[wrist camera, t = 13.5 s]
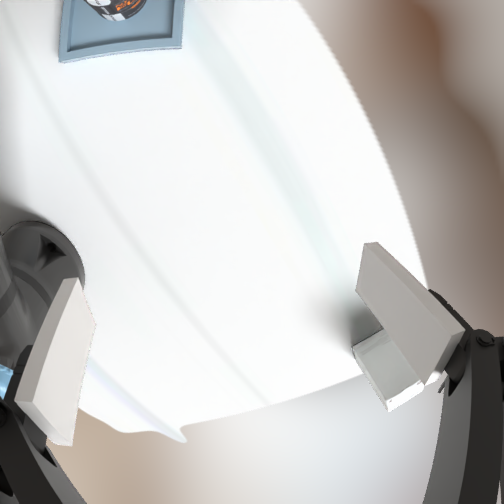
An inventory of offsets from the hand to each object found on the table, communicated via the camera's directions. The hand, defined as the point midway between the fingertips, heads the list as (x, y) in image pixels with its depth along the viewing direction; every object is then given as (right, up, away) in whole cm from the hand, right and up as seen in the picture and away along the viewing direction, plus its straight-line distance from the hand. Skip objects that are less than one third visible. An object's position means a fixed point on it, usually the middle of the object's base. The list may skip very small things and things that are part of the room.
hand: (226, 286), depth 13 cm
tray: (-13, +30, +10) cm, 34 cm away
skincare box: (+25, -17, +45) cm, 54 cm away
